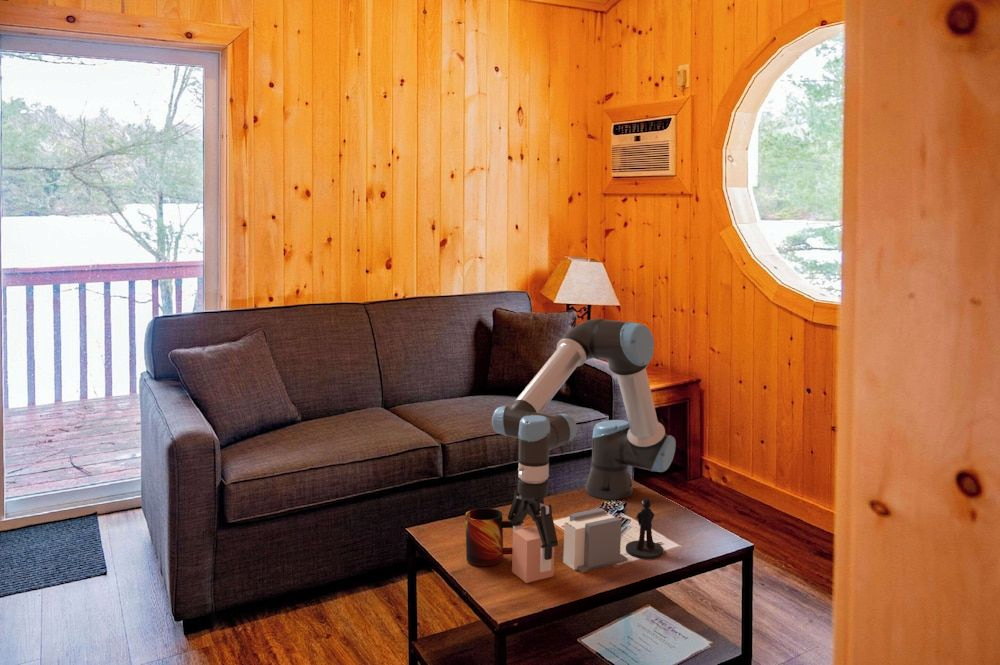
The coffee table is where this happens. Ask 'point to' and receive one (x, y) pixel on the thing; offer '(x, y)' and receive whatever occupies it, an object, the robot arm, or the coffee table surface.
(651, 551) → the figurine
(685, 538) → the coffee table surface
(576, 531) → the two-tone box
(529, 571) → the stub
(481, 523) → the mug
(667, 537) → the coffee table surface
